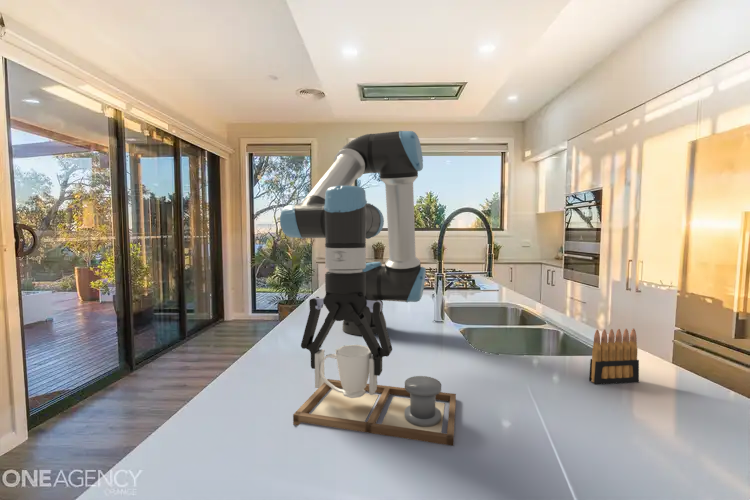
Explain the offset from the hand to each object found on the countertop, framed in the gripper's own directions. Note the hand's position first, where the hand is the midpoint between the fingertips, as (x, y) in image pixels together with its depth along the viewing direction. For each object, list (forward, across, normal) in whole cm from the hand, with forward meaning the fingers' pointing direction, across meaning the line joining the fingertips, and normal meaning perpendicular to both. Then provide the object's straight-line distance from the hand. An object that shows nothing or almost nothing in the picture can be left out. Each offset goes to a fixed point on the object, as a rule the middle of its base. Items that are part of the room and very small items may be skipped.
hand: (345, 388), depth 64 cm
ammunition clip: (+4, +54, +26) cm, 60 cm away
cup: (+1, 0, 0) cm, 1 cm away
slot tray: (+4, +6, 0) cm, 8 cm away
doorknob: (+3, +14, 0) cm, 15 cm away
